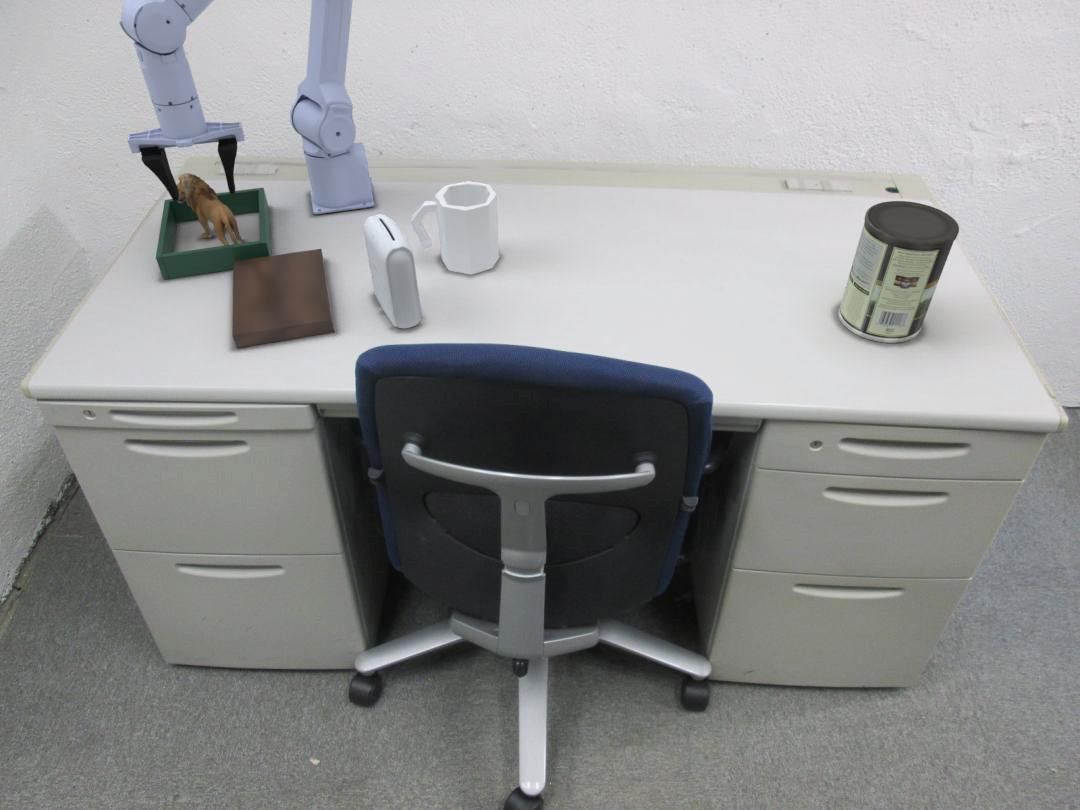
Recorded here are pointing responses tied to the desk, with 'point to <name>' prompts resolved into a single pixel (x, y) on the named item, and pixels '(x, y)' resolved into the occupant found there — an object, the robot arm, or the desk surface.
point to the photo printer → (392, 271)
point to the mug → (463, 226)
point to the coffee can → (896, 270)
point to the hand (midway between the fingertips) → (204, 194)
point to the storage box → (214, 256)
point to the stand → (280, 298)
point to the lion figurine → (208, 208)
